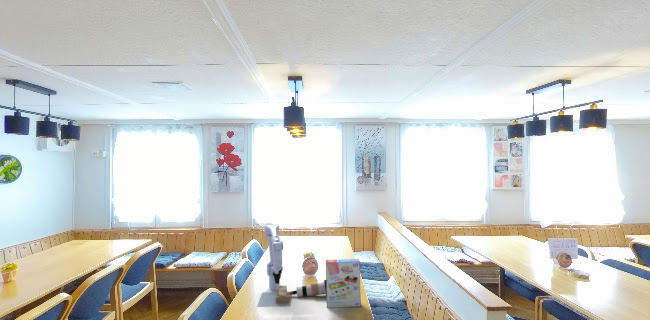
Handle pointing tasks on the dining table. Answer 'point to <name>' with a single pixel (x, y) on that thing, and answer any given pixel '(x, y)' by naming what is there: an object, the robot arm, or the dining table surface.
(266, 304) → the mat
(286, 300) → the walnut base
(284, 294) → the maple cube
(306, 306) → the dining table surface
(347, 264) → the game box
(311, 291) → the cable
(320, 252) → the dining table surface
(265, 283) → the dining table surface
